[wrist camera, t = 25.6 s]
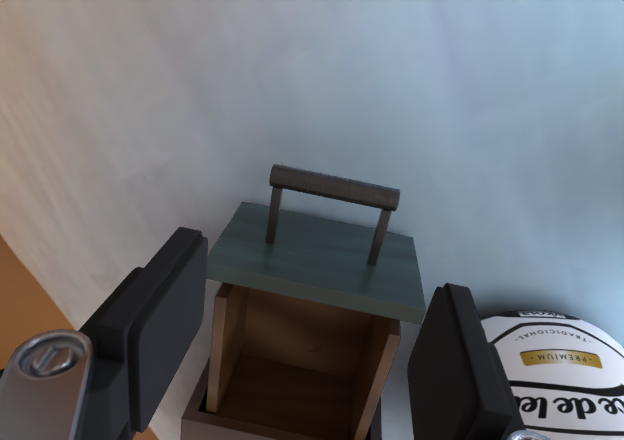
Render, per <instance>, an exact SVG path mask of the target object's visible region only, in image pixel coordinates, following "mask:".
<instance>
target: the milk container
mask: <svg viewBox="0 0 624 440" xmlns="http://www.w3.org/2000/svg"><path fill="white" fill-rule="evenodd" d="M480 321H481V324H482V327H483V330H484V332H485V335H486V338H487V341H488V342H490V343H492V344H494V345H495V347H496V349H497V351H498V354H499V356H500V359H501V362H502V365H503V367H504V370H505V373H506V375H507V378H508V381H509V384H510V386H511V389H512V392H513V395H514V397H515V400H516V403H517V406H518V408H519V411H520V414H521V417H522V419H523V422H524V425H525V427H526V430H527V431H532V432H536V433H538V434H541V435H543V436H546V437H547V438H549V439H550V440H624V348H623V347H622V346H621V345H620V344H618V343H617V342H616V341H615V340H614V339H613V338H612V337H610V336H609V335H608V334H606V333H605V332H604V331H602V330H601V329H599V328H597V327H596V326H594V325H592V324H590V323H588V322H585V321H583V320H581V319H578V318H575V317H572V316H568V315H564V314H560V313H556V312H551V311H542V310H527V311H510V312H505V313H501V314H497V315H494V316H490V317H487V318H484V319H481V320H480Z"/></svg>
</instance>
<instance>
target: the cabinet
mask: <svg viewBox="0 0 624 440" xmlns="http://www.w3.org/2000/svg"><path fill="white" fill-rule="evenodd" d="M209 365H210V357H209V359H208V361H207V364H206V366H205V368H204V370H203V372H202V374H201V377H200V379H199V381H198V383H197V385H196V388H195V390H194V392H193V394H192V396H191V398H190V401H189V403H188V405H187V407H186V410H185V412H184V414H183V416H182V420H181V440H324V439H319V438H315V437H310V436H306V435H301V434H297V433H293V432H288V431H284V430H279V429H275V428H270V427H266V426H261V425H257V424H253V423H248V422H244V421H239V420H235V419H230V418H226V417H222V416H217V415H213V414H208V413H206V402H207V390H208V377H209ZM365 440H382V431H381V395H380V398H379V401H378V404H377V407H376V410H375V412H374V415H373V418H372V421H371V424H370V427H369V429H368V432H367V435H366V438H365Z"/></svg>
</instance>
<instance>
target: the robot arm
mask: <svg viewBox="0 0 624 440" xmlns="http://www.w3.org/2000/svg"><path fill="white" fill-rule="evenodd" d="M207 251H208V238H206V237H202V232H201V231H199V230H194V229H189V228H184V227H179V228H178V229H177V230H176V231H175V233H174V234H173V235H172V236H171V237H170V238H169V240H168V241H167V242H166V243H165V244H164V245H163V247H162V248H161V249H160V250H159V251H158V252H157V253H156V255H155V256H154V257H153V258H152V259H151V260H150V262H149V263H148V264H147V265H146V266H145V267H144V268H141V267H137V268H135V269H134V270H133V271H131V273H130V274H129V275H128V276H127V277H126V278H125V279H124V280H123V281H122V283H121V284H120V285H119V286H118V287H117V288H116V289H115V290H114V292H113V293H112V294H111V295H110V296H109V297H108V298H107V299H106V300H105V302H104V303H103V304H102V305H101V306H100V307H99V308H98V309H97V310H96V312H95V313H94V314H93V315H92V316H91V317H90V318H89V319H88V320H87V322H86V323H85V324H84V325H83V326H82V327H81V328H80V329H79V331H75V330H69V329H58V330H52V331H47V332H44V333H41V334H37V335H35V336H33V337H32V338H30V339H28V340H26V341H25V342H23V343H22V344H21V345H20V346H18V347H17V348H16V349H15V351H14V352H13V354H12V355H11V357H10V359H9V361H8V363H7V365H6V368H5V369H2V370H0V440H132V439H133V437H134V435H135V433H136V432H141V433H142V432H144V430H145V429H146V428H147V426H148V424H149V422H150V420H151V419H152V417H153V415H154V413H155V411H156V409H157V407H158V405H159V403H160V402H161V400H162V398H163V396H164V394H165V392H166V390H167V388H168V386H169V385H170V383H171V381H172V379H173V377H174V375H175V373H176V371H177V369H178V368H179V366H180V364H181V362H182V360H183V358H184V356H185V354H186V353H187V351H188V349H189V347H190V345H191V343H192V341H193V339H194V337H195V336H196V334H197V332H198V330H199V328H200V326H201V323H202V319H203V313H204V297H205V282H206V267H207ZM407 372H408V383H409V394H410V404H411V414H412V424H413V434H414V440H550V439H549V438H547V437H546V436H543V435H541V434H538V433H536V432H532V431H527V430H526V427H525V425H524V422H523V419H522V417H521V414H520V411H519V408H518V406H517V403H516V400H515V397H514V395H513V392H512V389H511V386H510V384H509V381H508V378H507V375H506V373H505V370H504V367H503V365H502V362H501V359H500V356H499V354H498V351H497V349H496V347H495V345H494V344H492V343H490V342H488V341H487V338H486V335H485V332H484V330H483V327H482V324H481V321H480V318H479V315H478V312H477V309H476V306H475V304H474V301H473V298H472V295H471V292H470V290H469V288H468V287H463V286H459V285H454V284H449V283H446V284H445V285H444V287H443V288H442V287H437V288H436V290H435V292H434V295H433V298H432V300H431V303H430V306H429V308H428V311H427V314H426V316H425V319H424V322H423V324H422V327H421V330H420V332H419V335H418V338H417V340H416V343H415V345H414V348H413V351H412V353H411V356H410V359H409V363H408V371H407Z"/></svg>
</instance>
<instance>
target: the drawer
mask: <svg viewBox="0 0 624 440" xmlns="http://www.w3.org/2000/svg"><path fill="white" fill-rule="evenodd" d="M269 183H270V186H273V189H272V196H271V203H270V208H269V207H264V206H260V205H255V204H250V203H245V202H242V204H241V205H240V207H239V208H238V210H237V211H236V213H235V214H234V216H233V217H232V219H231V221H230V222H229V224H228V225H227V227H226V228H225V230H224V231H223V233H222V234H221V236H220V238H219V239H218V241H217V242H216V244H215V245H214V247H213V248H212V250H211V251H210V253H209V254H208V256H207V267H206V278H207V279H211V280H216V281H221V282H223V283H222V284H221V286H220V288H219V290H218V292H217V294H216V296H215V302H214V315H213V327H212V340H211V352H210V365H209V377H208V390H207V402H206V413H208V414H213V415H217V416H222V417H226V418H230V419H235V420H239V421H244V422H248V423H253V424H257V425H261V426H266V427H270V428H275V429H279V430H284V431H288V432H293V433H297V434H301V435H306V436H310V437H315V438H319V439H324V440H365V438H366V435H367V432H368V429H369V427H370V424H371V421H372V418H373V415H374V412H375V410H376V407H377V404H378V401H379V398H380V395H381V393H382V390H383V387H384V384H385V381H386V378H387V376H388V373H389V370H390V367H391V364H392V361H393V359H394V356H395V353H396V350H397V347H398V344H399V342H400V339H401V330H400V320H402V321H407V322H411V323H416V324H421V323H422V320H423V317H424V315H425V312H426V306H425V300H424V295H423V289H422V284H421V278H420V273H419V267H418V262H417V256H416V251H415V245H414V240H413V237H408V236H403V235H399V234H394V233H389V232H386V229H387V226H388V222H389V219H390V215H391V211H396V209H397V207H398V203H399V199H400V190H399V189H395V188H390V187H385V186H380V185H375V184H371V183H366V182H361V181H356V180H351V179H346V178H341V177H336V176H332V175H327V174H322V173H317V172H312V171H307V170H302V169H298V168H293V167H288V166H283V165H278V164H274V165H273V167H272V170H271V174H270V181H269ZM283 189H288V190H293V191H298V192H303V193H308V194H312V195H317V196H322V197H327V198H332V199H336V200H341V201H346V202H351V203H356V204H361V205H365V206H370V207H375V208H380V209H381V212H380V216H379V219H378V223H377V227H376V230H375V229H370V228H365V227H360V226H355V225H351V224H346V223H341V222H336V221H331V220H327V219H322V218H317V217H312V216H308V215H303V214H298V213H293V212H288V211H284V210H280V206H281V199H282V192H283Z"/></svg>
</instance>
